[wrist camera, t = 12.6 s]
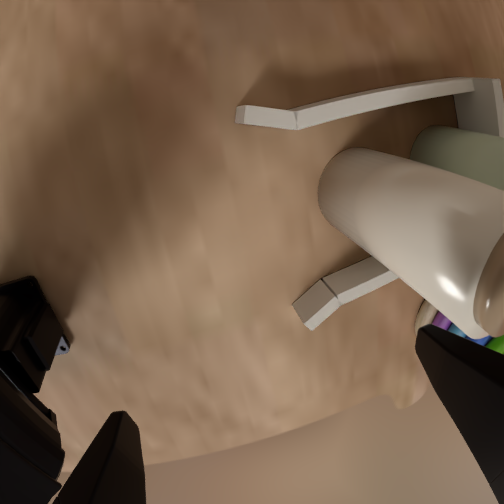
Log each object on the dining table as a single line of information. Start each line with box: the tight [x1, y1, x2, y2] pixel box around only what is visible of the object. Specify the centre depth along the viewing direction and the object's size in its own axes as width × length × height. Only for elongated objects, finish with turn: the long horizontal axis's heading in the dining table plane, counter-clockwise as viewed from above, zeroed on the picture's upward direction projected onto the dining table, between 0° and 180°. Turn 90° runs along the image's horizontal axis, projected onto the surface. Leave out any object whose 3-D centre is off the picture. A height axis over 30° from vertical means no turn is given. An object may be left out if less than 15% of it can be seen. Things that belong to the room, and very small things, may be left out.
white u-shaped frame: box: [235, 77, 504, 331], centre depth 19 cm, size 19×15×4 cm
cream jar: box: [318, 147, 504, 339], centre depth 15 cm, size 6×6×14 cm
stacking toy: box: [415, 299, 504, 354], centre depth 20 cm, size 8×8×19 cm
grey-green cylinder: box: [410, 125, 504, 191], centre depth 18 cm, size 6×6×9 cm
